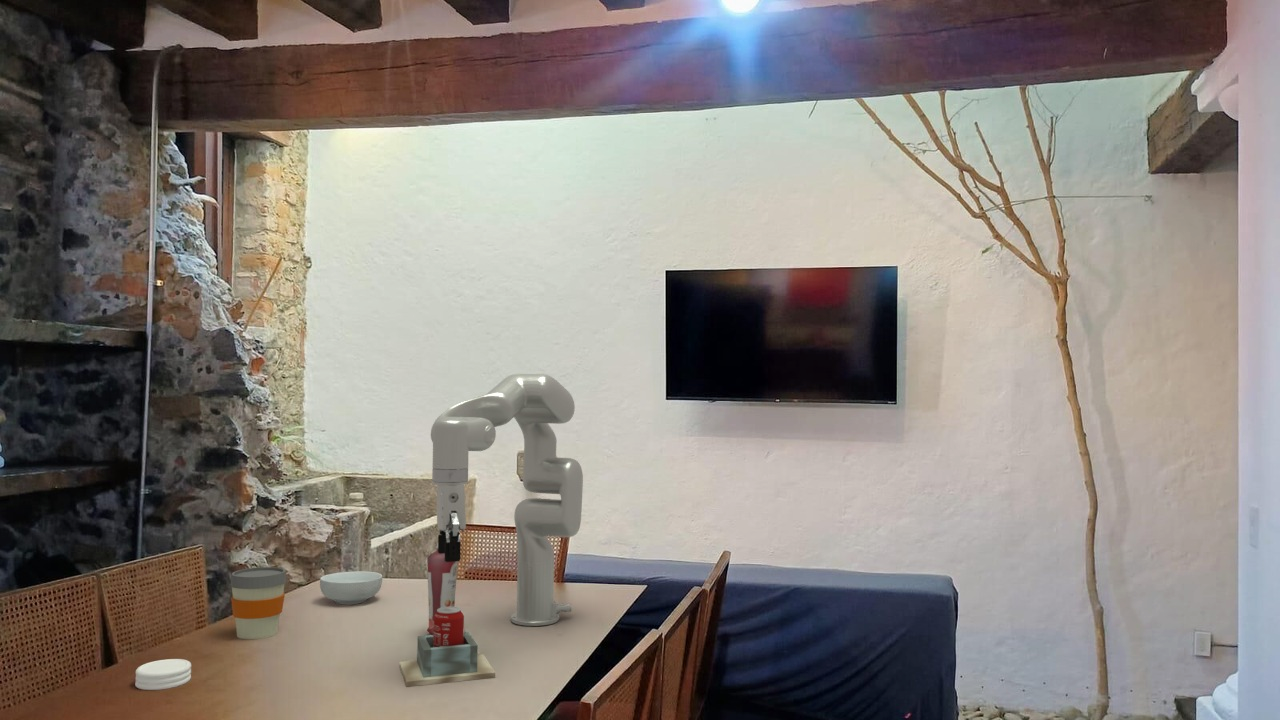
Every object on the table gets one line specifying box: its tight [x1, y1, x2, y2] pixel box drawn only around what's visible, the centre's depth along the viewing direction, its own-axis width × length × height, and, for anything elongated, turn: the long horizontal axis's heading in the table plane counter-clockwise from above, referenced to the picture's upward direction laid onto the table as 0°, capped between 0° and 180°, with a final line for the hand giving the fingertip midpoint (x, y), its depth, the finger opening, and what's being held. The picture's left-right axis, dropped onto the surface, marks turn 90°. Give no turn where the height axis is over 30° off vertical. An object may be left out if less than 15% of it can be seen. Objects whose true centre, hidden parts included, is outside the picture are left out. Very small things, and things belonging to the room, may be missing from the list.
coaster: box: [134, 658, 192, 691], centre depth 179 cm, size 10×10×4 cm
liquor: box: [426, 526, 459, 635], centre depth 215 cm, size 7×7×28 cm
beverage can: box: [433, 606, 465, 647], centre depth 188 cm, size 6×6×12 cm
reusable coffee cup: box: [230, 566, 287, 640], centre depth 214 cm, size 13×13×15 cm
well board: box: [399, 631, 496, 688], centre depth 187 cm, size 18×14×6 cm
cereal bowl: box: [319, 570, 383, 605], centre depth 248 cm, size 17×17×7 cm
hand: (448, 557), depth 188 cm, fingers open, 9 cm apart
